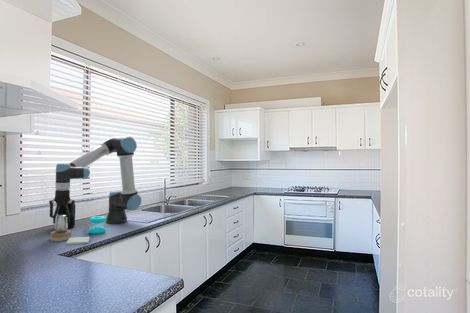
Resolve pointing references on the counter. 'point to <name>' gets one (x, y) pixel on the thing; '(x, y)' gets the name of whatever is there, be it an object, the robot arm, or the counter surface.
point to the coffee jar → (63, 212)
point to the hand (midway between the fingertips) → (61, 228)
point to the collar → (60, 236)
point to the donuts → (97, 228)
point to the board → (78, 240)
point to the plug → (61, 223)
